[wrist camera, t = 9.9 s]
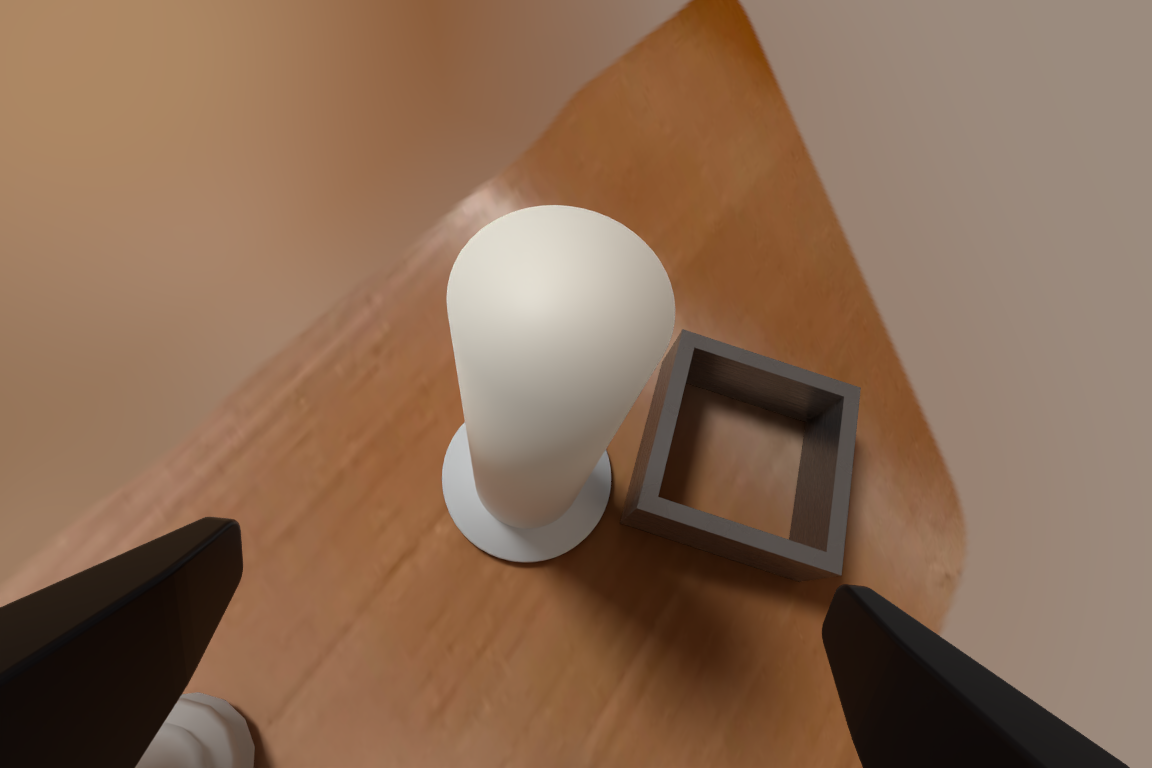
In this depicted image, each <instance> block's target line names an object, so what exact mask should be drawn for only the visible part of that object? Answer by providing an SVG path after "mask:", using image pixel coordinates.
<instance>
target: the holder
mask: <svg viewBox="0 0 1152 768" xmlns="http://www.w3.org/2000/svg"><path fill="white" fill-rule="evenodd" d="M686 383H688V384H691V385H694V386H698V387H701V388H704V389H707V390H710V391H713V392H716V393H719V394H722V395H725V396H728V397H731V398H734V399H737V400H740V401H743V402H746V403H749V404H752V405H755V406H758V407H761V408H764V409H768V410H771V411H774V412H777V413H780V414H783V415H786V416H789V417H792V418H795V419H798V420H801V421H804V422H806V425H805V432H804V439H803V446H802V453H801V460H800V467H799V474H798V481H797V488H796V495H795V502H794V509H793V516H792V523H791V530H790V538H789V540H788V539H785V538H782V537H779V536H776V535H773V534H770V533H767V532H764V531H761V530H757V529H754V528H751V527H748V526H745V525H742V524H739V523H736V522H733V521H730V520H727V519H724V518H721V517H718V516H715V515H712V514H709V513H706V512H703V511H700V510H697V509H694V508H691V507H688V506H685V505H681V504H678V503H675V502H672V501H669V500H666V499H663V498H660V497H658V495H659V491H660V487H661V483H662V479H663V475H664V471H665V466H666V462H667V458H668V454H669V450H670V446H671V442H672V438H673V433H674V429H675V425H676V421H677V417H678V413H679V409H680V404H681V400H682V396H683V392H684V388H685V384H686ZM860 389H861V388H860V387H857V386H854V385H851V384H848V383H845V382H842V381H838V380H835V379H832V378H829V377H826V376H823V375H820V374H817V373H814V372H811V371H808V370H805V369H802V368H799V367H796V366H793V365H790V364H787V363H784V362H781V361H778V360H775V359H771V358H768V357H765V356H762V355H759V354H756V353H753V352H750V351H747V350H744V349H741V348H738V347H735V346H732V345H729V344H726V343H723V342H720V341H717V340H714V339H711V338H708V337H705V336H701V335H698V334H695V333H692V332H689V331H686V330H682V331H681V333H680V334H679V336H678V338H677V339H676V341H675V342H674V344H673V346H672V347H671V349H670V350H669V352H668V354H667V355H666V357H665V358H664V360H663V362H662V365H661V369H660V373H659V376H658V380H657V384H656V388H655V392H654V395H653V399H652V403H651V407H650V410H649V414H648V418H647V422H646V425H645V429H644V433H643V437H642V441H641V444H640V448H639V452H638V456H637V459H636V463H635V467H634V471H633V474H632V478H631V482H630V486H629V490H628V493H627V497H626V501H625V505H624V508H623V512H622V516H621V520H620V523H621V524H624V525H627V526H630V527H634V528H637V529H640V530H643V531H646V532H649V533H652V534H655V535H658V536H661V537H664V538H667V539H670V540H673V541H676V542H679V543H682V544H685V545H688V546H691V547H694V548H697V549H700V550H703V551H706V552H710V553H713V554H716V555H719V556H722V557H725V558H728V559H731V560H734V561H737V562H740V563H743V564H746V565H749V566H752V567H755V568H758V569H761V570H764V571H767V572H770V573H773V574H776V575H779V576H782V577H786V578H789V579H792V580H795V581H798V582H801V581H808V580H815V579H821V578H828V577H835V576H841V575H842V566H843V556H844V546H845V536H846V527H847V517H848V507H849V497H850V487H851V478H852V468H853V458H854V448H855V438H856V429H857V419H858V409H859V399H860Z"/></svg>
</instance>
